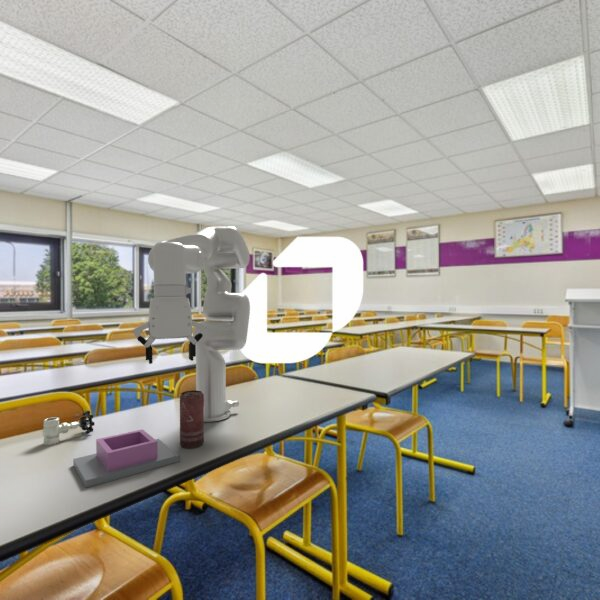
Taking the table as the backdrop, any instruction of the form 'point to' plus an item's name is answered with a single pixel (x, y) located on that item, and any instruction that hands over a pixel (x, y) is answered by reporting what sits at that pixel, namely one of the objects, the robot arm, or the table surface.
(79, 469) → the cup holder
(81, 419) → the valve
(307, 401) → the table surface
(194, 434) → the can
